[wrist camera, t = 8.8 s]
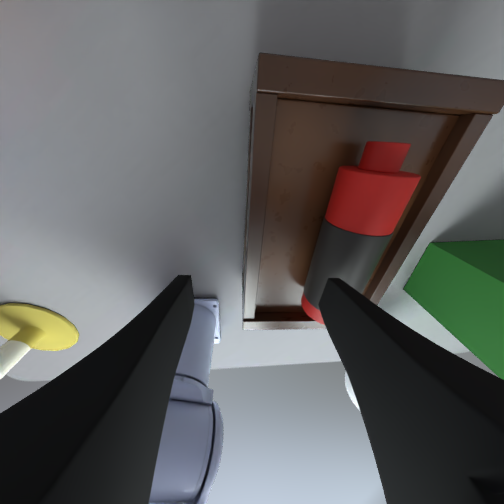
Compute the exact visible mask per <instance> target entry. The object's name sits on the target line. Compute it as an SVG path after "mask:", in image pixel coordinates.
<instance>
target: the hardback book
mask: <svg viewBox="0 0 504 504" xmlns="http://www.w3.org/2000/svg"><path fill="white" fill-rule="evenodd" d="M403 290H405V291H406V292H407V293H408V294H409V295H410V296H411V297H412V298H413V299H414V300H415V301H417V302H418V303H419V304H420V305H421V306H422V307H423V308H424V309H425V310H426V311H427V312H429V313H430V314H431V315H432V316H433V317H434V318H435V319H436V320H437V321H438V322H439V323H440V324H442V325H443V326H444V327H445V328H446V329H447V330H448V331H449V332H450V333H451V334H452V335H454V336H455V337H456V338H457V339H458V340H459V341H460V342H461V343H462V344H463V345H464V346H465V347H467V348H468V349H469V350H470V351H471V352H472V353H473V354H474V355H475V356H477V358H479V359H480V360H481V361H482V362H483V363H484V364H485V365H486V366H487V367H488V368H489V369H491V370H492V371H493V372H494V373H495V374H496V375H497V376H498V377H499V378H501V379H503V380H504V239H503V240H481V241H459V242H436V243H430V244H429V245H428V247H427V249H426V251H425V252H424V254H423V256H422V258H421V259H420V261H419V263H418V264H417V266H416V268H415V270H414V271H413V273H412V275H411V277H410V278H409V280H408V282H407V284H406V285H405V287H404V289H403Z"/></svg>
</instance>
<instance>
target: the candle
mask: <svg viewBox="0 0 504 504" xmlns="http://www.w3.org/2000/svg"><path fill="white" fill-rule="evenodd" d="M0 335H1V336H3V337H4V338H6V339H8V341H7V342H6V343H5V344H3V345H2V346H1V347H0V379H1V378H2V377H3V376H4V375H5V374H6V373H7V372H8V371H9V370H10V369H11V368H12V367H13V366H14V365H15V364H16V363H17V362H18V361H19V360H20V359H21V358H22V357H23V356H24V355H25V354H26V353H27V352H28V351H29V350H30V349H31V348H33V349H39V350H51V351H58V350H62V349H67V348H70V347H71V346H72V345H74V344H75V343H76V342H77V341H78V337H79V333H78V331H77V329H76V328H75V326H74V325H73V324H72V323H71V322H69V321H68V320H67V319H66V318H64V317H63V316H61V315H59V314H57V313H55V312H52V311H50V310H48V309H45V308H41V307H37V306H34V305H30V304H17V303H9V304H5V305H0Z"/></svg>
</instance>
